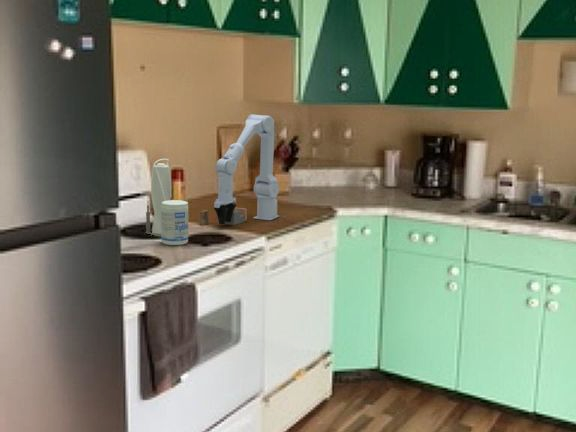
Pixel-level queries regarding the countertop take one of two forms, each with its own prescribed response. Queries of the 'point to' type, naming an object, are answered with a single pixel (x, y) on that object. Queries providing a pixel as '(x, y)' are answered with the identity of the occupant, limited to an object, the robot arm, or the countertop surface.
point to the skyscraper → (158, 195)
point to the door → (242, 212)
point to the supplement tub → (174, 222)
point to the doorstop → (236, 218)
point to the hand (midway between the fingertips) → (224, 222)
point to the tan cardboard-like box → (204, 217)
